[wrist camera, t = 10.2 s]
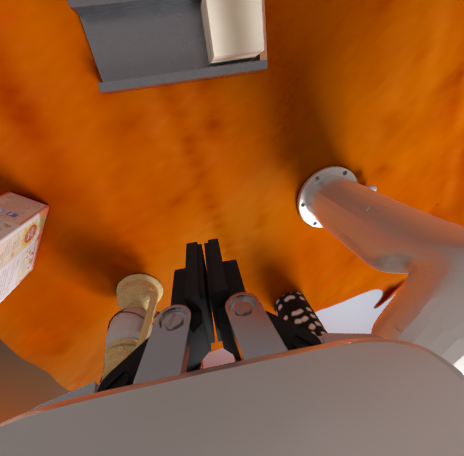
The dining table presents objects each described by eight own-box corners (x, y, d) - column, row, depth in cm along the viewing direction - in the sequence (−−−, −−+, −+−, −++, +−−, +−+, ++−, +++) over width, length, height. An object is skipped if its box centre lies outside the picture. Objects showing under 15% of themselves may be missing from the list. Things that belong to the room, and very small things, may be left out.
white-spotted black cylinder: (268, 312, 58) (304, 398, 41) (285, 288, 56) (331, 370, 38) (293, 318, 61) (337, 400, 44) (310, 295, 58) (364, 375, 41)
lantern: (140, 317, 51) (95, 534, 25) (102, 296, 47) (-2, 534, 21) (178, 286, 49) (172, 487, 23) (142, 261, 45) (83, 476, 19)
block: (246, 2, 29) (260, -21, 24) (251, 59, 32) (264, 50, 27) (200, 7, 28) (204, -16, 23) (209, 65, 31) (214, 57, 26)
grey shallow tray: (255, -12, 29) (263, -25, 26) (260, 71, 34) (267, 68, 31) (78, 7, 27) (65, -5, 24) (108, 94, 31) (100, 92, 29)
